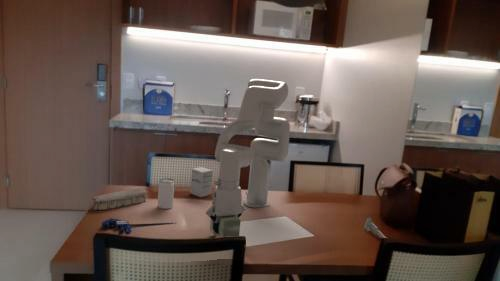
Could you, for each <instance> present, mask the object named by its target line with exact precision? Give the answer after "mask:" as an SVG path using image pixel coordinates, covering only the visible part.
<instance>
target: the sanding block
mask: <svg viewBox="0 0 500 281" xmlns="http://www.w3.org/2000/svg"><path fill="white" fill-rule="evenodd" d="M214 213H215V212H212V213H211V214H212V215H214ZM240 222H242V221H241V219H240V218H237V217H236V216H235V215H231V216H221V217H220V218H219V221H218V223H219V231H218V233H217V234H216V233H215V232H214V230H213V220H212V219H211V218H210V226H209V231H210V232H211V233H212V234H213V235H214V236H215V237H216V238H217V237H227V236H239V232H240Z"/></svg>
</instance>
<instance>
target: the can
mask: <svg viewBox="0 0 500 281" xmlns="http://www.w3.org/2000/svg"><path fill="white" fill-rule="evenodd" d="M174 195H175V182H174V179H173V178H168V177H166V178H165V177H163V178H161V179H160V180H159V182H158V194H157V207H158V208H159V209H163V210H169V209H172V208H173V207H174V206H173V205H174Z"/></svg>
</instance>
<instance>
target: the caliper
mask: <svg viewBox="0 0 500 281" xmlns="http://www.w3.org/2000/svg"><path fill="white" fill-rule="evenodd" d="M364 230H366V232H370V231H371V232H373V234H376V235H377V236H378V237H379V238H380V239H381V238H387V237H386V236H385V235H384V234H383V233H382V232H381V231H380V229H379V227H378V226H377V225H375V223H374V222H373V218H371V217H370V216H369V217H367V218H366V221H365V223H364Z"/></svg>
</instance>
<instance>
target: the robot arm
mask: <svg viewBox="0 0 500 281" xmlns="http://www.w3.org/2000/svg"><path fill="white" fill-rule="evenodd" d="M288 95H289V87H288V83H286V82H285V81H279V80H270V79H263V78H262V79H261V78H253V79H250V80H248V83H247V87H246V90H245V91H244V94H243V97H242V101H241V105H240V108H239V112H238V114H237V118H236V119H235V120H233V121H232V122H230V123H229V124H228V125H227V126H226V127H225V128H224V129H223V130H221V133H220V135H219V136H218V140H217V143H216V147H215V149H214V150H215V151H214V158H215V160H216V161H217V162H218V163H219V165H218V166H219V167H218V176H217V177H218V178H217V180H215V181H214V185H216V186H215V189H214V192H213V196H212V203H211V206H210V207H209V208H208V209H207V210H206V211H205V214H206V215H207V216H208V217H209V219H210V220H211V219H212V220H213V230H214V232H215V233H216V234H217V233H218V231H219V223H218V221H219V218H220V217H221V216H231V215H235V216H236V217H237V218H238V219H240V218H241V216H242V215H243V213H244V212H245V211H246V208H245V207H244V206H243V204H244V205H245V206H246V207H249V208H253V209H260V208H261V209H262V208H269V207H270V206H271V202H270V201H269V200H268V195H269V188H270V186H269V185H270V177H271V167H270V164H269V162H268V161H272V162H277V163H278V162H279V163H283V162H285V161H286V160H287V158H288V155H289V144H290V134H291V126H290V124H291V123H290V121H289V120H288V119H286V118H284V117H277V116H276V115H275V110H277V109H279V108H280V107H281V106H282V105H283V104H284V103H285V101H286V99H287V98H288ZM252 129H254V133H255V135H257V136H259V137H257V138H254V139H253V140H251V143H250V147H249V146H244V145H239V144H232V143H229V141H230V140H231V138H232V137H234V136H236V135H238V134H239V133H243V132H246V131H249V130H252ZM261 137H262V138H261ZM263 137H264V138H263ZM248 166H249V175H248V176H249V178H248V185H247V186H248V187H247V191H245V195H246V197H245V198H244V199H243V196H242V189H241V186H240V177H241V168H247V167H248ZM242 199H243V201H242ZM212 212H215V213H214V215H212V214H211V213H212Z"/></svg>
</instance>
